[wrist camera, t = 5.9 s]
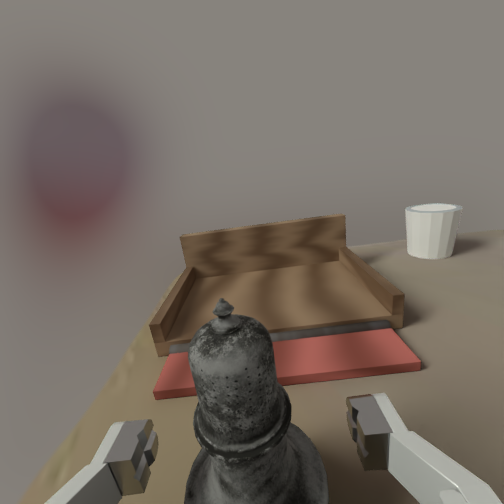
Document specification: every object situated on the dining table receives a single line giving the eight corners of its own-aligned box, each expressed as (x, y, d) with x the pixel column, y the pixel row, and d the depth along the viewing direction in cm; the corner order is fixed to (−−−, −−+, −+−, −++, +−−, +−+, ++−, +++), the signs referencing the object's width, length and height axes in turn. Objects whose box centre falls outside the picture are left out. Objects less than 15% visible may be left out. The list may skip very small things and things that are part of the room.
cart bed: (342, 265, 39) (341, 213, 36) (441, 368, 19) (452, 267, 16) (193, 284, 40) (182, 234, 37) (136, 401, 20) (104, 310, 17)
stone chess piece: (229, 450, 15) (187, 264, 12) (332, 474, 14) (321, 262, 10) (174, 605, 10) (67, 354, 6) (331, 678, 8) (307, 384, 5)
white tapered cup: (444, 244, 42) (448, 201, 40) (467, 259, 35) (474, 209, 33) (397, 246, 43) (399, 205, 41) (411, 261, 37) (414, 213, 35)
